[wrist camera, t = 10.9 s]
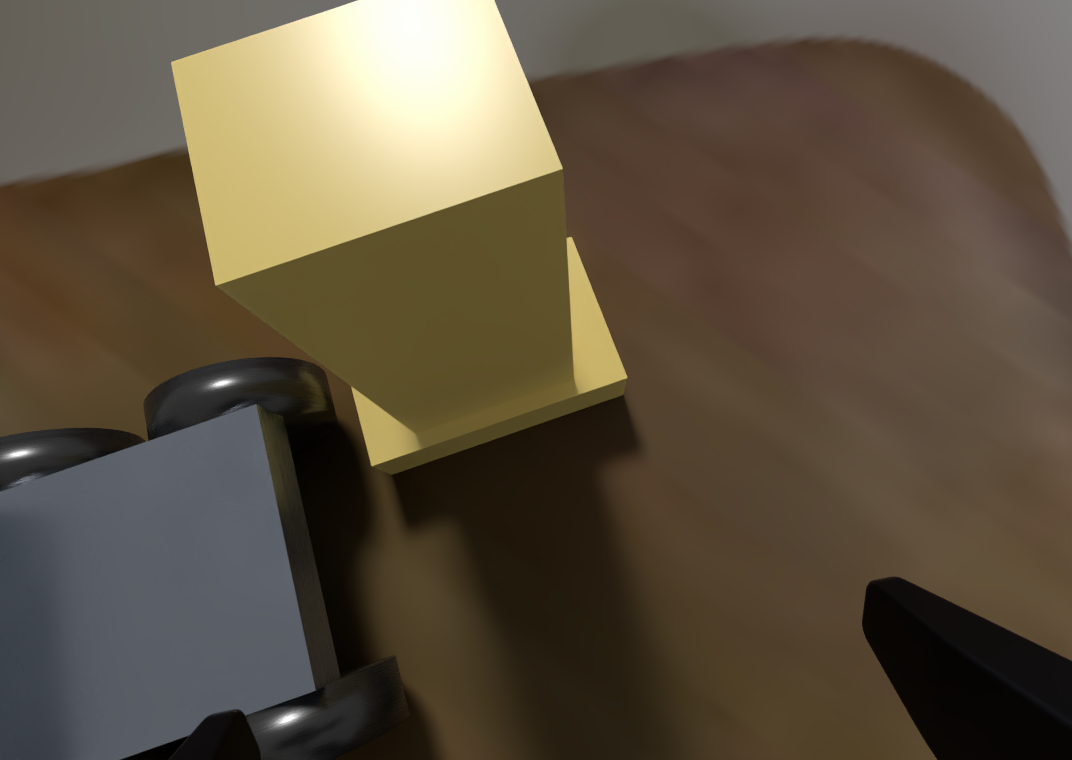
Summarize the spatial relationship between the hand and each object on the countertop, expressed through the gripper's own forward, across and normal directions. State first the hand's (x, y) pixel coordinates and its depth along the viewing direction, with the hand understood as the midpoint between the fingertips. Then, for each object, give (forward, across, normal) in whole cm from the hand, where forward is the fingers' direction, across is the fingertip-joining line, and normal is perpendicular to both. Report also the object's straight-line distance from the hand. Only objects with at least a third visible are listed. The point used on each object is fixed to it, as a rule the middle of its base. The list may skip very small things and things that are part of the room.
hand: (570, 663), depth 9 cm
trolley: (+10, +10, +6) cm, 15 cm away
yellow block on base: (+13, 0, +1) cm, 13 cm away
